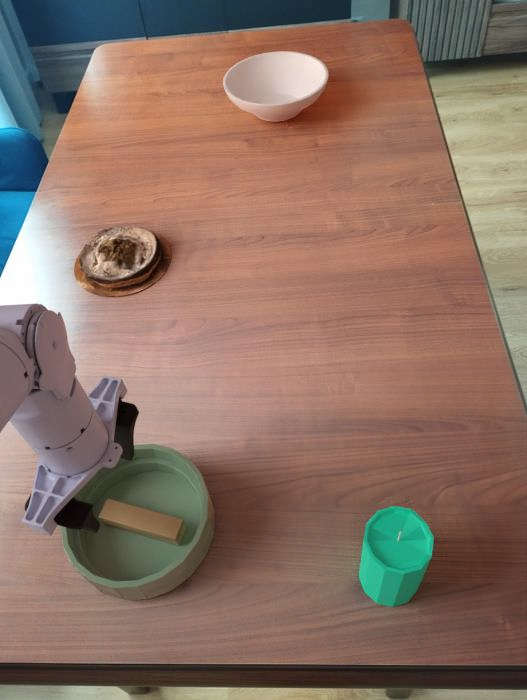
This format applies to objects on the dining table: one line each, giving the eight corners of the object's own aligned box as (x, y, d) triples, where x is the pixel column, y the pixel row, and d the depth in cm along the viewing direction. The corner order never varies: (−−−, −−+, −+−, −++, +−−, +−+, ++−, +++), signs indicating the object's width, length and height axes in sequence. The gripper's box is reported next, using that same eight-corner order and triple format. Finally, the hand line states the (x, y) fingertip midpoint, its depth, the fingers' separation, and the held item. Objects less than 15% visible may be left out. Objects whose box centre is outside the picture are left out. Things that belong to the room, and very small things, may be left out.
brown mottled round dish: (187, 241, 92) (182, 220, 89) (138, 308, 84) (130, 288, 81) (110, 221, 97) (102, 201, 93) (56, 283, 89) (46, 263, 85)
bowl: (207, 119, 113) (201, 85, 108) (271, 75, 121) (269, 42, 116) (284, 152, 104) (282, 117, 99) (348, 102, 113) (350, 67, 107)
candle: (382, 619, 56) (394, 582, 47) (346, 565, 60) (350, 520, 50) (432, 585, 58) (452, 543, 48) (394, 534, 61) (406, 486, 52)
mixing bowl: (184, 620, 58) (174, 607, 54) (51, 577, 61) (32, 562, 57) (234, 481, 66) (228, 461, 62) (114, 452, 70) (102, 431, 66)
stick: (179, 546, 62) (175, 539, 60) (104, 524, 64) (97, 517, 62) (187, 527, 63) (183, 519, 61) (113, 506, 65) (107, 498, 63)
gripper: (55, 515, 41) (111, 574, 52) (139, 356, 50) (172, 435, 60) (-28, 491, 43) (43, 553, 54) (67, 341, 51) (112, 421, 62)
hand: (107, 490), depth 57 cm, fingers open, 7 cm apart
